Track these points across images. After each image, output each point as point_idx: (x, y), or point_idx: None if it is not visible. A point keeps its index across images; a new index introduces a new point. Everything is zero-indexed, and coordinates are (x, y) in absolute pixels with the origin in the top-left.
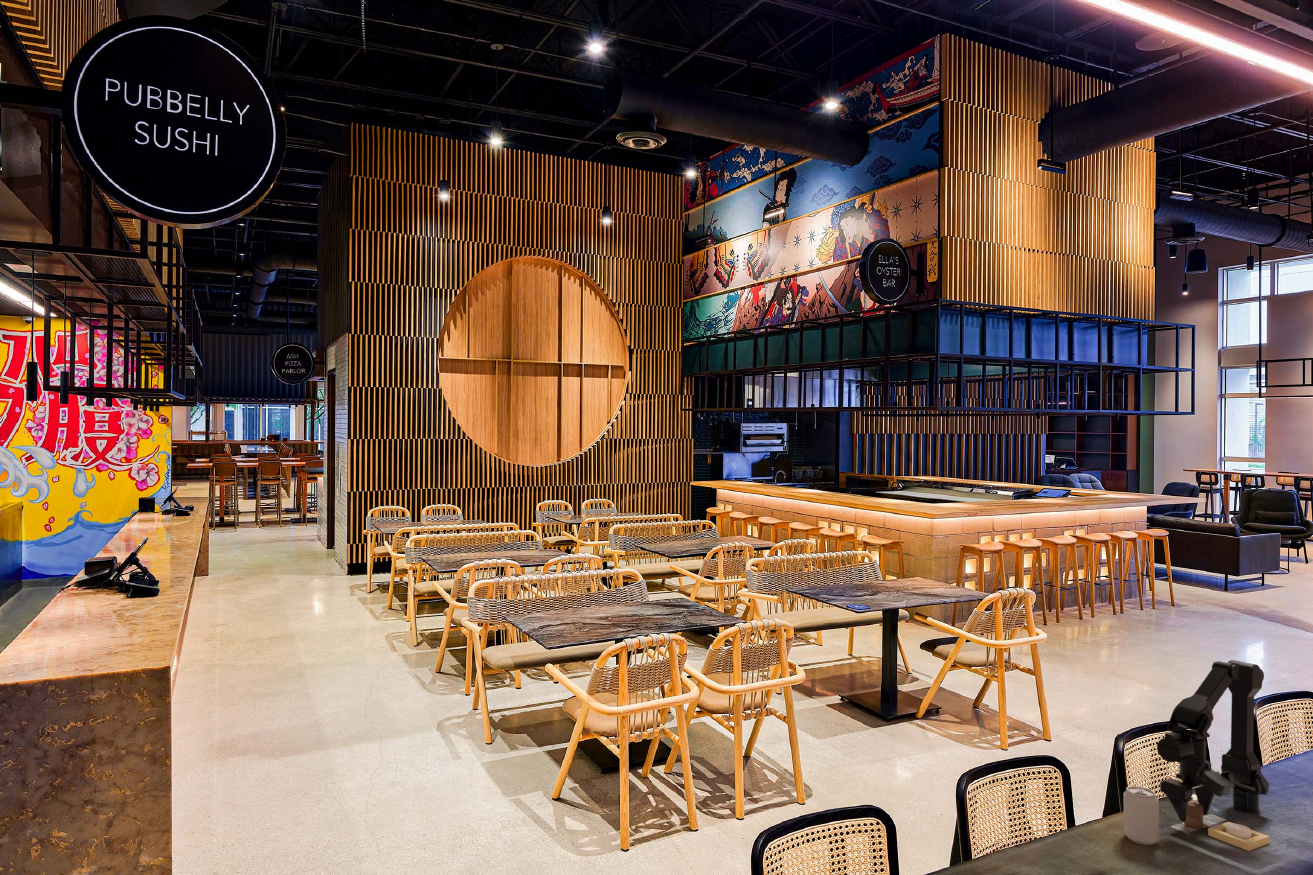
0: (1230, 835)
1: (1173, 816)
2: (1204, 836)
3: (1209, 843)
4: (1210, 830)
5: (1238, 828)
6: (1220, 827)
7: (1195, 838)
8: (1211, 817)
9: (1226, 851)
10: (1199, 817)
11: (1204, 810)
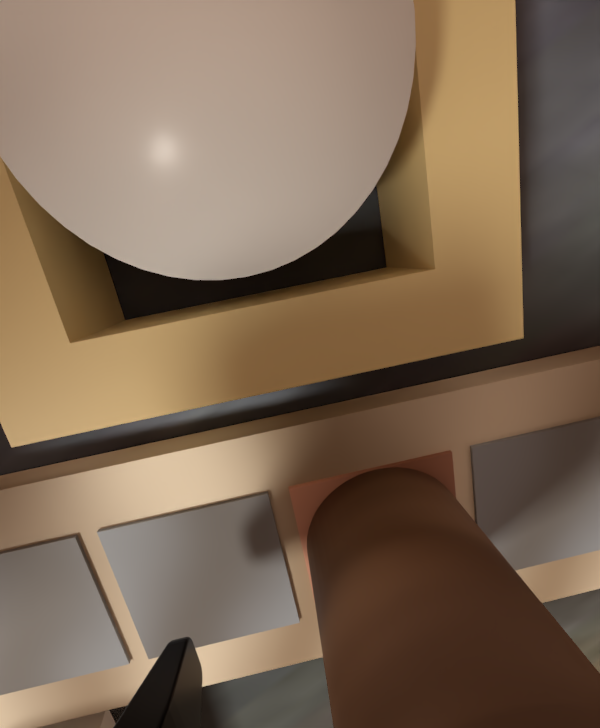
0: (456, 42)
1: (321, 703)
2: (440, 365)
3: (550, 228)
4: (507, 308)
5: (233, 13)
6: (325, 322)
7: (562, 351)
8: (37, 639)
9: (581, 7)
10: (458, 550)
11: (184, 704)
